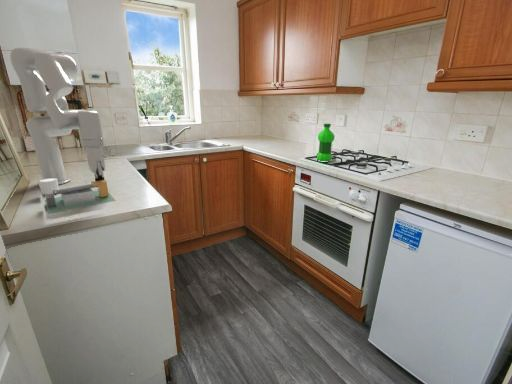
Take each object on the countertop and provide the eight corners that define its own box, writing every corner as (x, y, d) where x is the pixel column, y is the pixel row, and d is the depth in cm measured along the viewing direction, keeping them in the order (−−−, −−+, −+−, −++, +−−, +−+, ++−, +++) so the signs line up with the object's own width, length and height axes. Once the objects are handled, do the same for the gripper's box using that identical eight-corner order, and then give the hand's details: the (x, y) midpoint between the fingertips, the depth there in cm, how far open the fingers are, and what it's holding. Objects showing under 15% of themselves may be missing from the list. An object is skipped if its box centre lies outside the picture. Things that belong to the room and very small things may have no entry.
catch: (93, 196, 114) (91, 181, 112) (107, 193, 117) (104, 179, 115) (95, 198, 112) (92, 183, 110) (108, 195, 115) (106, 181, 113)
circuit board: (45, 203, 111) (44, 199, 111) (106, 192, 124) (105, 189, 124) (48, 217, 98) (47, 213, 98) (116, 204, 111) (115, 200, 110)
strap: (53, 195, 103) (52, 192, 103) (52, 193, 106) (52, 190, 106) (97, 187, 112) (96, 184, 111) (95, 185, 114) (95, 182, 114)
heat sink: (47, 202, 108) (44, 192, 107) (90, 194, 117) (89, 185, 116) (48, 210, 101) (46, 199, 99) (95, 201, 110) (93, 191, 108)
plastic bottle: (330, 160, 191) (333, 123, 182) (332, 164, 181) (336, 124, 173) (315, 160, 191) (318, 123, 183) (317, 163, 182) (320, 124, 173)
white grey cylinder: (64, 192, 124) (61, 177, 121) (54, 198, 117) (50, 182, 115) (48, 192, 123) (45, 177, 121) (37, 198, 117) (33, 182, 115)
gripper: (79, 141, 114) (87, 184, 120) (85, 146, 103) (94, 192, 109) (99, 139, 119) (106, 181, 125) (107, 144, 108) (115, 189, 114)
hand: (101, 186), depth 117 cm, fingers closed
